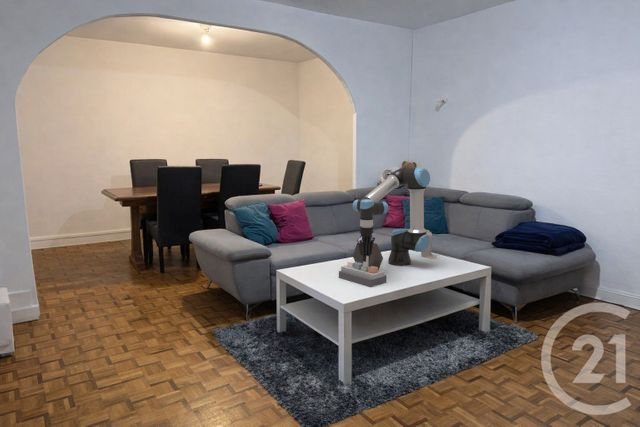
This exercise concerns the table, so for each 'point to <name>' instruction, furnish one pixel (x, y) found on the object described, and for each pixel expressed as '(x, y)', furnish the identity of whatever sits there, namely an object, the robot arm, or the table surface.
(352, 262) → the key ivory
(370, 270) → the key terracotta
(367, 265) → the robot arm
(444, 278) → the table surface
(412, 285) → the table surface
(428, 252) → the candle
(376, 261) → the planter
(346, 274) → the console
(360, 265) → the key slate
